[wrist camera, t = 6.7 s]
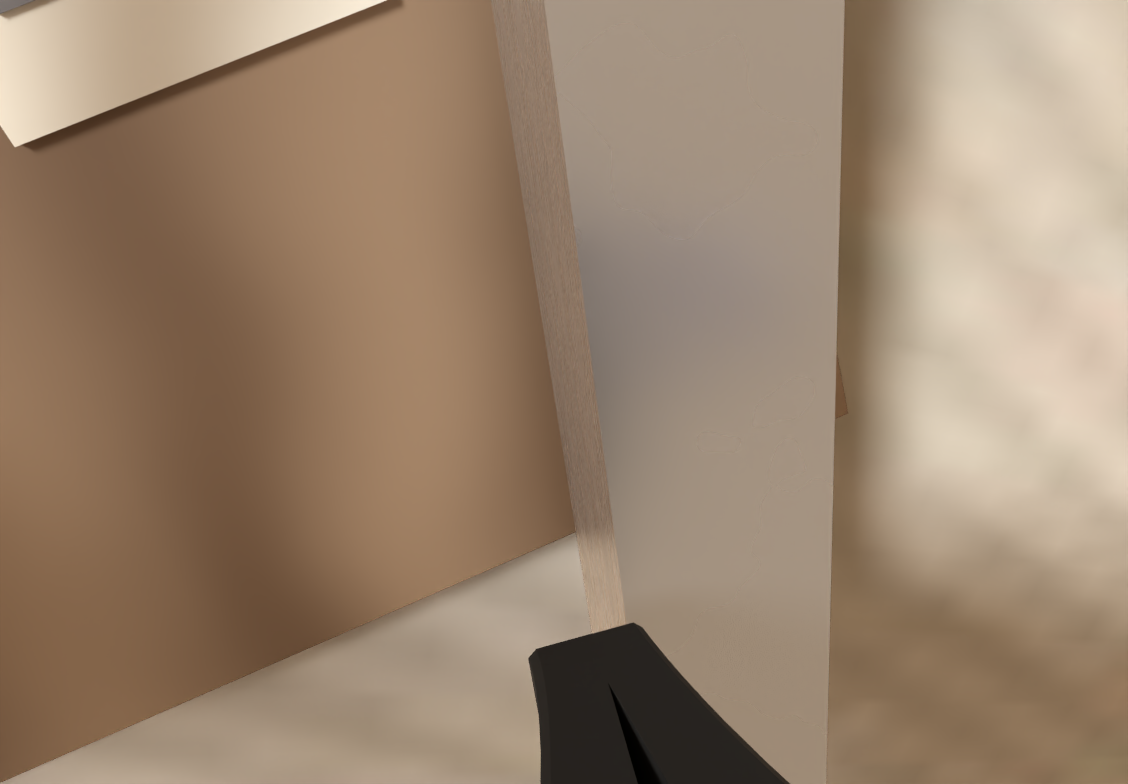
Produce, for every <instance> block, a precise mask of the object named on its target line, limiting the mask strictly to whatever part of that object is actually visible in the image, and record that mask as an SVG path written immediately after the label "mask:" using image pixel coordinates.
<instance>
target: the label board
mask: <svg viewBox="0 0 1128 784" xmlns="http://www.w3.org/2000/svg"><path fill="white" fill-rule="evenodd" d="M847 413H848V411H847V405H846V400H845V395H844V389H843V384H842V378H841V373H840V368H839V362H838V357H837V351H836V391H835V419H836V418H838V417H840V416H843V415H845V414H847ZM574 532H576V530H575V523H574V517H573V511H572V505H571V498H570V492H569V486H568V480H567V473H566V467H565V461H564V455H563V448H562V442H561V436H560V430H559V423H558V417H557V411H556V405H555V398H554V392H553V386H552V380H551V373H550V367H549V361H548V354H547V348H546V342H545V336H544V329H543V323H542V317H541V311H540V304H539V298H538V292H537V286H536V279H535V273H534V267H533V261H532V254H531V248H530V242H529V236H528V229H527V223H526V217H525V211H524V204H523V198H522V192H521V185H520V179H519V173H518V167H517V160H516V154H515V148H514V142H513V135H512V129H511V123H510V117H509V110H508V104H507V98H506V92H505V85H504V79H503V73H502V67H501V60H500V54H499V48H498V42H497V35H496V29H495V23H494V16H493V10H492V4H491V0H0V782H3V781H5V780H7V779H10V778H12V777H14V776H16V775H19V774H21V773H23V772H26V771H28V770H30V769H33V768H35V767H37V766H39V765H42V764H44V763H46V762H49V761H51V760H53V759H55V758H58V757H60V756H62V755H65V754H67V753H69V752H72V751H74V750H76V749H78V748H81V747H83V746H85V745H88V744H90V743H92V742H95V741H97V740H99V739H101V738H104V737H106V736H108V735H111V734H113V733H115V732H117V731H120V730H122V729H124V728H127V727H129V726H131V725H134V724H136V723H138V722H140V721H143V720H145V719H147V718H150V717H152V716H154V715H156V714H159V713H161V712H163V711H166V710H168V709H170V708H173V707H175V706H177V705H179V704H182V703H184V702H186V701H189V700H191V699H193V698H195V697H198V696H200V695H202V694H205V693H207V692H209V691H212V690H214V689H216V688H218V687H221V686H223V685H225V684H228V683H230V682H232V681H234V680H237V679H239V678H241V677H244V676H246V675H248V674H251V673H253V672H255V671H257V670H260V669H262V668H264V667H267V666H269V665H271V664H274V663H276V662H278V661H280V660H283V659H285V658H287V657H290V656H292V655H294V654H296V653H299V652H301V651H303V650H306V649H308V648H310V647H313V646H315V645H317V644H319V643H322V642H324V641H326V640H329V639H331V638H333V637H335V636H338V635H340V634H342V633H345V632H347V631H349V630H352V629H354V628H356V627H358V626H361V625H363V624H365V623H368V622H370V621H372V620H374V619H377V618H379V617H381V616H384V615H386V614H388V613H391V612H393V611H395V610H397V609H400V608H402V607H404V606H407V605H409V604H411V603H414V602H416V601H418V600H420V599H423V598H425V597H427V596H430V595H432V594H434V593H436V592H439V591H441V590H443V589H446V588H448V587H450V586H453V585H455V584H457V583H459V582H462V581H464V580H466V579H469V578H471V577H473V576H475V575H478V574H480V573H482V572H485V571H487V570H489V569H492V568H494V567H496V566H498V565H501V564H503V563H505V562H508V561H510V560H512V559H514V558H517V557H519V556H521V555H524V554H526V553H528V552H531V551H533V550H535V549H537V548H540V547H542V546H544V545H547V544H549V543H551V542H554V541H556V540H558V539H560V538H563V537H565V536H567V535H570V534H572V533H574Z"/></svg>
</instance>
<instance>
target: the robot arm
mask: <svg viewBox="0 0 1128 784" xmlns="http://www.w3.org/2000/svg"><path fill="white" fill-rule="evenodd" d="M528 659H529V665H530V670H531V676H532V681H533V686H534V692H535V697H536V703H537V708H538V713H539V724H540V744H541V784H790V783H789V782H788V781H787V780H786V779H785V778H783V777H782V776H781V775H780V774H779V773H778V772H777V771H776V770H775V769H774V768H773V767H772V766H771V765H769V764H768V763H767V762H766V761H765V760H764V759H763V758H762V757H761V756H760V755H759V754H758V753H757V752H756V751H755V750H754V749H753V748H752V747H751V746H750V745H749V744H748V743H747V742H746V741H745V740H744V739H743V738H742V737H741V736H740V735H739V734H738V733H737V732H736V731H735V730H734V729H732V728H731V727H730V726H729V725H728V724H727V723H726V722H725V721H724V720H723V719H722V718H721V717H720V715H719V714H718V713H717V712H716V711H715V710H714V709H713V708H712V707H711V706H710V705H709V704H708V703H707V702H706V701H705V700H704V699H703V698H702V697H701V695H700V694H699V693H698V692H697V691H696V690H695V689H694V688H693V687H692V686H691V685H690V683H689V682H688V681H687V680H686V679H685V678H684V677H683V676H682V675H681V673H680V672H679V671H678V670H677V669H676V668H675V667H674V666H673V664H672V663H671V662H670V661H669V660H668V658H667V657H666V656H665V655H664V654H663V653H662V651H661V650H660V649H659V648H658V646H657V645H656V644H655V643H654V642H653V640H652V639H651V638H650V636H649V635H648V634H647V633H646V631H645V630H644V629H643V627H641V626H639V625H637V624H636V623H634V622H633V623H629V624H625V625H622V626H618V627H615V628H611V629H607V630H604V631H600V632H596V633H593V634H589V635H585V636H582V637H578V638H575V639H571V640H567V641H564V642H560V643H556V644H553V645H549V646H545V647H542V648H538V649H536V650H535V651H534V652H533V654H532V655H531V656H530V657H529V658H528Z"/></svg>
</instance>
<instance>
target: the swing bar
mask: <svg viewBox="0 0 1128 784" xmlns="http://www.w3.org/2000/svg"><path fill="white" fill-rule="evenodd" d="M491 4H492V10H493V16H494V23H495V29H496V35H497V42H498V48H499V54H500V60H501V67H502V73H503V79H504V85H505V92H506V98H507V104H508V110H509V117H510V123H511V129H512V135H513V142H514V148H515V154H516V160H517V167H518V173H519V179H520V185H521V192H522V198H523V204H524V211H525V217H526V223H527V229H528V236H529V242H530V248H531V254H532V261H533V267H534V273H535V279H536V286H537V292H538V298H539V304H540V311H541V317H542V323H543V329H544V336H545V342H546V348H547V354H548V361H549V367H550V373H551V380H552V386H553V392H554V398H555V405H556V411H557V417H558V423H559V430H560V436H561V442H562V448H563V455H564V461H565V467H566V473H567V480H568V486H569V492H570V498H571V505H572V511H573V517H574V523H575V530H576V536H577V542H578V549H579V555H580V561H581V567H582V574H583V580H584V586H585V592H586V599H587V605H588V611H589V617H590V624H591V630H592V634H593V633H596V632H600V631H604V630H607V629H611V628H615V627H618V626H622V625H625V624H629V623H633V622H634V623H636V624H637V625H639V626H641V627H643V629H644V630H645V631H646V633H647V634H648V635H649V636H650V638H651V639H652V640H653V642H654V643H655V644H656V645H657V646H658V648H659V649H660V650H661V651H662V653H663V654H664V655H665V656H666V657H667V658H668V660H669V661H670V662H671V663H672V664H673V666H674V667H675V668H676V669H677V670H678V671H679V672H680V673H681V675H682V676H683V677H684V678H685V679H686V680H687V681H688V682H689V683H690V685H691V686H692V687H693V688H694V689H695V690H696V691H697V692H698V693H699V694H700V695H701V697H702V698H703V699H704V700H705V701H706V702H707V703H708V704H709V705H710V706H711V707H712V708H713V709H714V710H715V711H716V712H717V713H718V714H719V715H720V717H721V718H722V719H723V720H724V721H725V722H726V723H727V724H728V725H729V726H730V727H731V728H732V729H734V730H735V731H736V732H737V733H738V734H739V735H740V736H741V737H742V738H743V739H744V740H745V741H746V742H747V743H748V744H749V745H750V746H751V747H752V748H753V749H754V750H755V751H756V752H757V753H758V754H759V755H760V756H761V757H762V758H763V759H764V760H765V761H766V762H767V763H768V764H769V765H771V766H772V767H773V768H774V769H775V770H776V771H777V772H778V773H779V774H780V775H781V776H782V777H783V778H785V779H786V780H787V781H788V782H789V783H790V784H826V774H827V731H828V689H829V646H830V604H831V561H832V519H833V476H834V434H835V391H836V348H837V306H838V263H839V221H840V178H841V136H842V93H843V51H844V8H845V0H491Z"/></svg>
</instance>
